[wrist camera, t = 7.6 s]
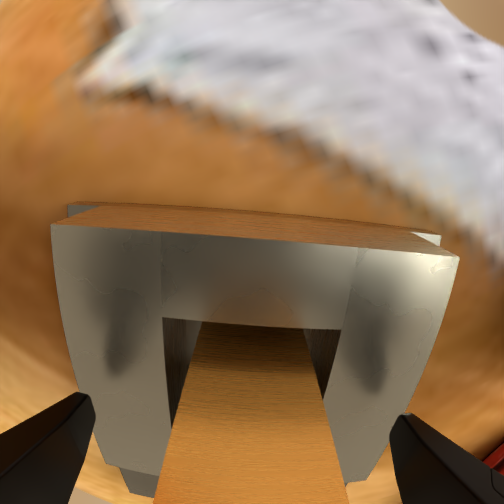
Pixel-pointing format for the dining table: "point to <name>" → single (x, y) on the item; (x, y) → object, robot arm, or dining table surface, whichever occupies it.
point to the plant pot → (496, 459)
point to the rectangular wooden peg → (250, 424)
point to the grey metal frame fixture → (243, 315)
